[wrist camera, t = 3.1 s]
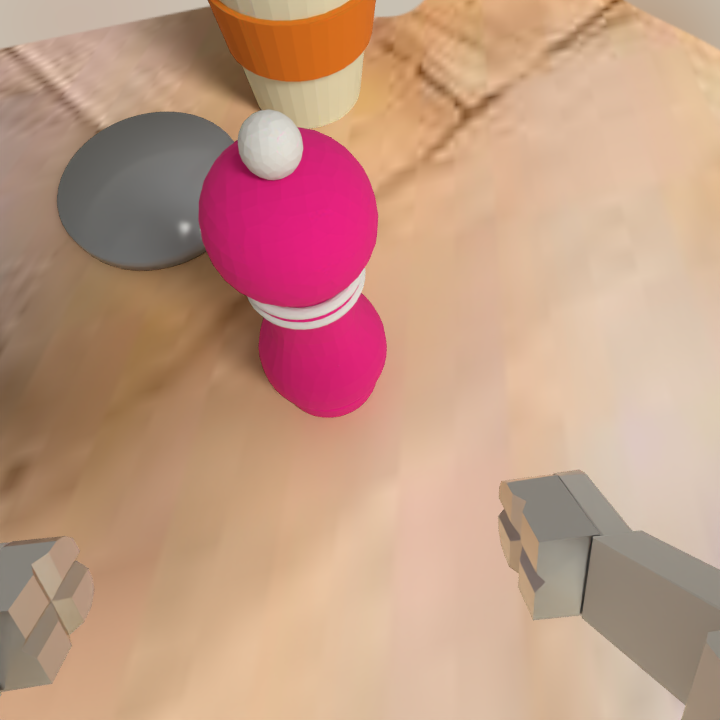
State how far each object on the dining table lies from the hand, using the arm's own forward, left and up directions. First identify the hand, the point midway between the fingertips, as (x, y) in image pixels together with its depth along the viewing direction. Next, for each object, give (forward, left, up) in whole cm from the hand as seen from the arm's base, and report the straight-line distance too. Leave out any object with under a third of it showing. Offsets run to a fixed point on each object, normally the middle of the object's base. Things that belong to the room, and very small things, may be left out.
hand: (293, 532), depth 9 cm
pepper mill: (-6, +8, -20) cm, 22 cm away
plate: (-25, +15, -20) cm, 35 cm away
